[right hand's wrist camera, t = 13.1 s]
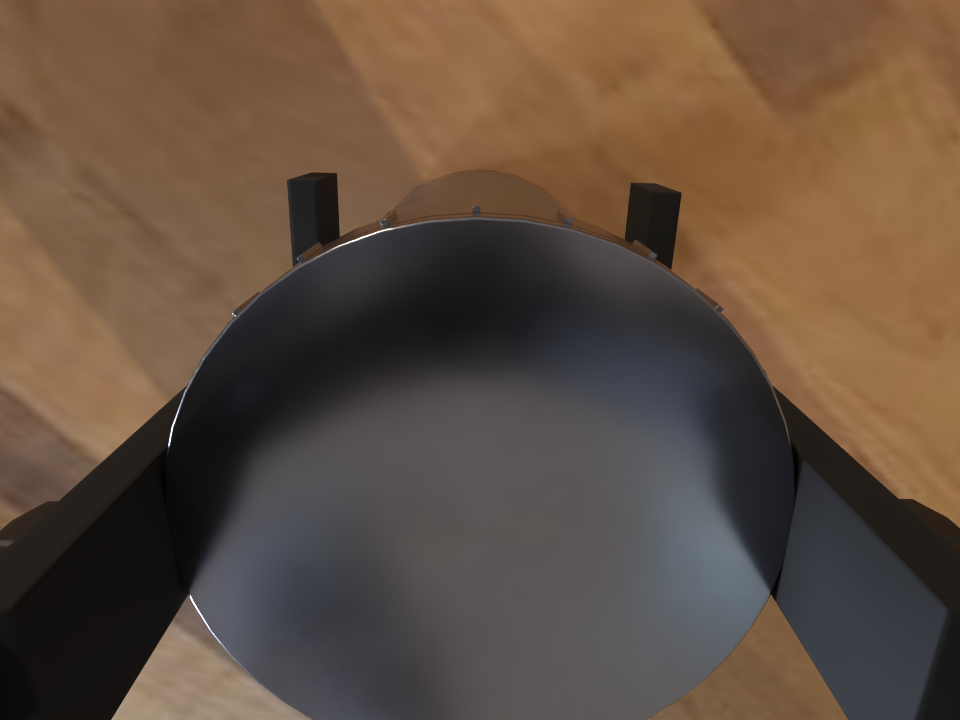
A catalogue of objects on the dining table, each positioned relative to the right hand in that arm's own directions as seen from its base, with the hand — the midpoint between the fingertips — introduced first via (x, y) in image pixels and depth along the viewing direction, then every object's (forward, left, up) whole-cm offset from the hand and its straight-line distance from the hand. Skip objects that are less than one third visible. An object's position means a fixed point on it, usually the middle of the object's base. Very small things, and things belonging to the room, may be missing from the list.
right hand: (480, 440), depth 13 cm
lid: (0, 0, +3) cm, 3 cm away
